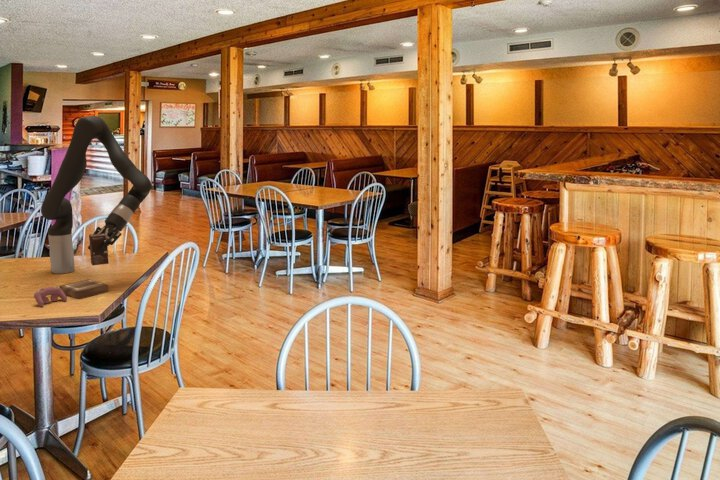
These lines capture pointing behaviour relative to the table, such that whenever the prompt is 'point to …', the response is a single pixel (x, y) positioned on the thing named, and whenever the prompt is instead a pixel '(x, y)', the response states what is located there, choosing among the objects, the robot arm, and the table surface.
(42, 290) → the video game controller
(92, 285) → the base board
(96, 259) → the box
